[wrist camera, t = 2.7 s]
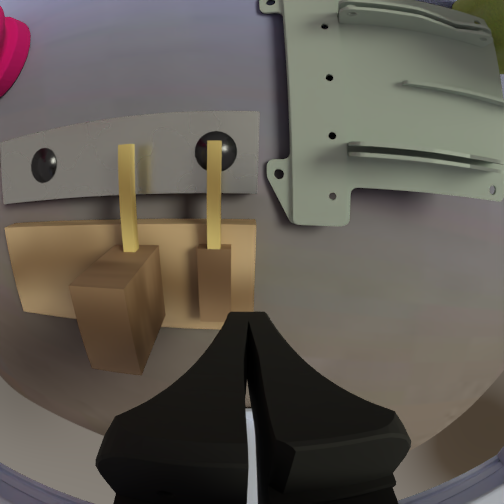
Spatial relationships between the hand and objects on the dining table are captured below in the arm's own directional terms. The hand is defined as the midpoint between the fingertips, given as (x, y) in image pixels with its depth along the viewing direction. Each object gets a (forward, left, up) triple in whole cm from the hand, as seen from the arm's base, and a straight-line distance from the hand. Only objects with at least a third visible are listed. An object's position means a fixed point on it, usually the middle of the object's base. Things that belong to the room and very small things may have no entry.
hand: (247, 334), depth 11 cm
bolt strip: (+6, +8, -6) cm, 12 cm away
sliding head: (+2, +6, -5) cm, 8 cm away
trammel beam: (+2, +7, -6) cm, 10 cm away
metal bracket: (+11, -8, -6) cm, 15 cm away
